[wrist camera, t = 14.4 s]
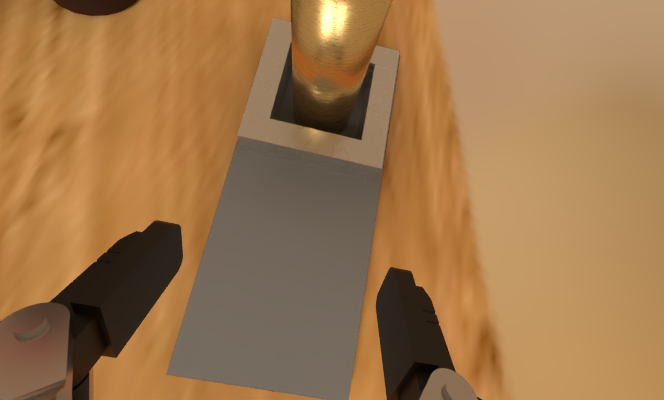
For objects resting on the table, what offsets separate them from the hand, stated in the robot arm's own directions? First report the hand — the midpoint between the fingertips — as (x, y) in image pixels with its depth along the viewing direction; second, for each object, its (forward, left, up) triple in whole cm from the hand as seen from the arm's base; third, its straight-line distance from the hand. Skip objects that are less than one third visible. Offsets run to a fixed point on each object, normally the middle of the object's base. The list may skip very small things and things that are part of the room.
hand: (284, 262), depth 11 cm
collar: (-9, +6, -6) cm, 12 cm away
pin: (-9, +6, -6) cm, 12 cm away
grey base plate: (-4, +3, -7) cm, 9 cm away
